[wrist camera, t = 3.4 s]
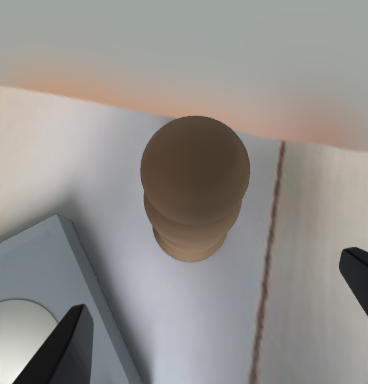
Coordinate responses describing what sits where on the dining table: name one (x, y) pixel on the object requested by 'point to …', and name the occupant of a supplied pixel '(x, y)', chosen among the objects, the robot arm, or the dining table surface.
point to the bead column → (193, 185)
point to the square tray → (54, 301)
